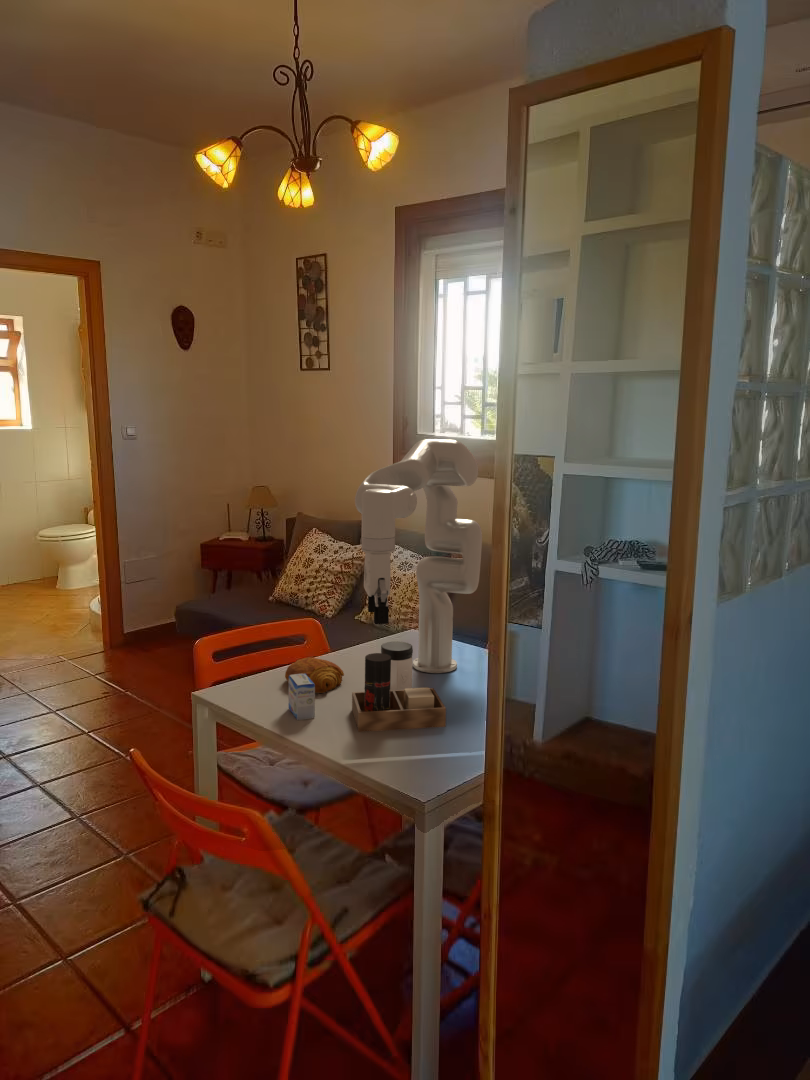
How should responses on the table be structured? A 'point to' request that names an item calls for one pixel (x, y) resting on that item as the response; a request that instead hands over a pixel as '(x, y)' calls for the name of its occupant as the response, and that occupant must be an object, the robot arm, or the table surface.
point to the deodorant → (377, 682)
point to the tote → (397, 714)
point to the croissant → (317, 673)
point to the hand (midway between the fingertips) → (378, 617)
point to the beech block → (418, 698)
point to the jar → (399, 664)
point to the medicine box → (301, 696)
